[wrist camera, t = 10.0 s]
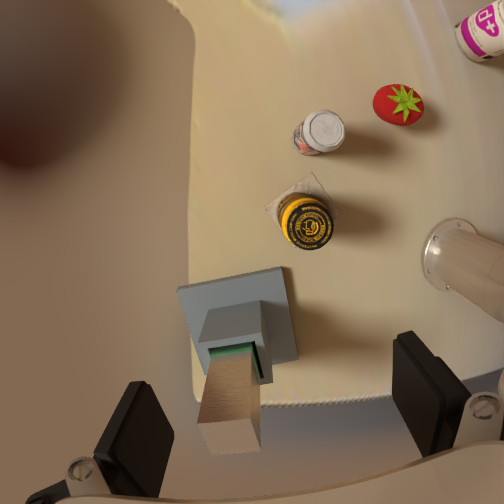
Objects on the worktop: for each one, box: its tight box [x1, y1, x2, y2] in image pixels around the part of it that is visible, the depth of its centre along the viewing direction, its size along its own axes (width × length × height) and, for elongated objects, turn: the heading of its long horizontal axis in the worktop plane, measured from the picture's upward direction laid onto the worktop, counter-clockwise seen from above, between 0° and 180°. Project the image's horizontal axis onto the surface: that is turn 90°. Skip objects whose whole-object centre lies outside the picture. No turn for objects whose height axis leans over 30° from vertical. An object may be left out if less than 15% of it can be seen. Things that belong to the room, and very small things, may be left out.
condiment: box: [264, 173, 340, 250], centre depth 40 cm, size 7×8×12 cm
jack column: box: [197, 341, 261, 455], centre depth 34 cm, size 5×5×17 cm
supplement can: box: [454, 0, 504, 62], centre depth 29 cm, size 8×8×15 cm
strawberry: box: [373, 84, 424, 126], centre depth 36 cm, size 6×8×10 cm
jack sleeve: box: [176, 266, 299, 385], centre depth 44 cm, size 16×16×12 cm
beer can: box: [292, 110, 346, 156], centre depth 37 cm, size 5×5×12 cm
